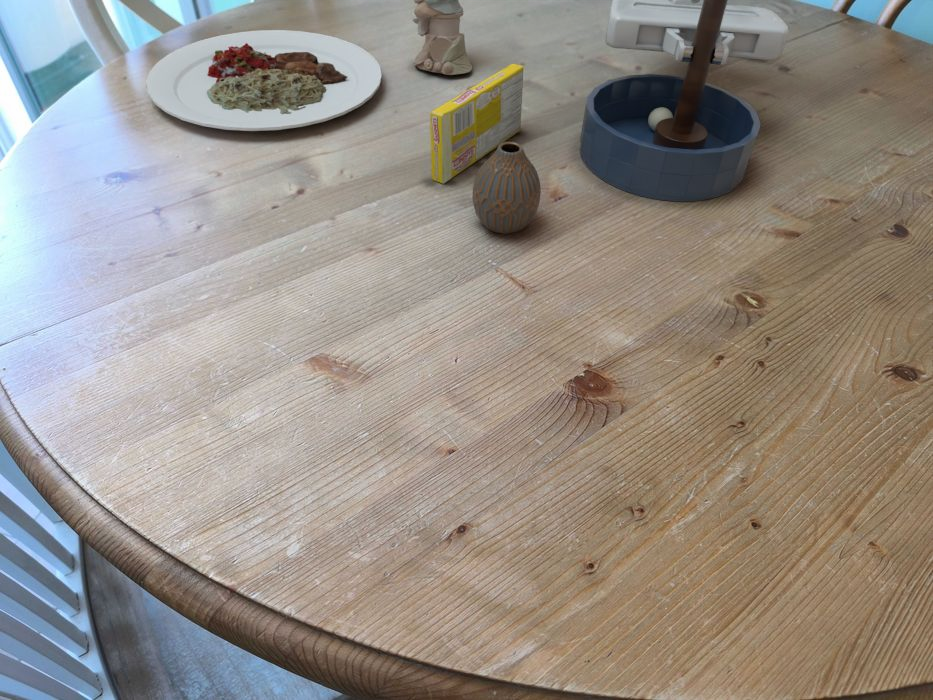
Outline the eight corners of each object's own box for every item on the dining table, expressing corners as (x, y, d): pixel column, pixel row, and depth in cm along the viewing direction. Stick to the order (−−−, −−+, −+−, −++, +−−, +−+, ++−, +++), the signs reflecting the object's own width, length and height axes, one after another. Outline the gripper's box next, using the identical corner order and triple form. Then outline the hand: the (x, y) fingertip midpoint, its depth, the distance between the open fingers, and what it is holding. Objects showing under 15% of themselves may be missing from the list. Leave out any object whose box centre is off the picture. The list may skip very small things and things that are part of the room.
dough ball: (668, 126, 95) (674, 104, 93) (671, 137, 93) (676, 115, 91) (645, 124, 95) (649, 102, 93) (646, 135, 93) (652, 113, 91)
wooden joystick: (699, 135, 92) (747, -36, 78) (706, 159, 87) (758, -17, 74) (650, 130, 92) (689, -41, 78) (654, 155, 87) (697, -22, 74)
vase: (487, 248, 75) (493, 170, 69) (460, 212, 80) (463, 136, 74) (548, 234, 77) (558, 158, 71) (518, 200, 82) (526, 125, 76)
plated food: (319, 162, 86) (316, 135, 84) (98, 114, 92) (90, 87, 90) (415, 64, 107) (415, 40, 105) (230, 30, 113) (226, 6, 111)
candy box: (506, 126, 94) (512, 61, 89) (521, 132, 93) (527, 66, 88) (428, 179, 84) (428, 109, 79) (443, 185, 84) (445, 115, 78)
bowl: (730, 126, 97) (743, 81, 93) (758, 208, 83) (775, 160, 79) (578, 113, 98) (585, 68, 94) (580, 193, 84) (589, 144, 79)
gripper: (765, 43, 93) (789, 92, 83) (600, 30, 94) (604, 77, 84) (782, -10, 89) (809, 34, 79) (609, -24, 89) (614, 19, 79)
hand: (702, 56), depth 81 cm, fingers closed on wooden joystick, 2 cm apart
